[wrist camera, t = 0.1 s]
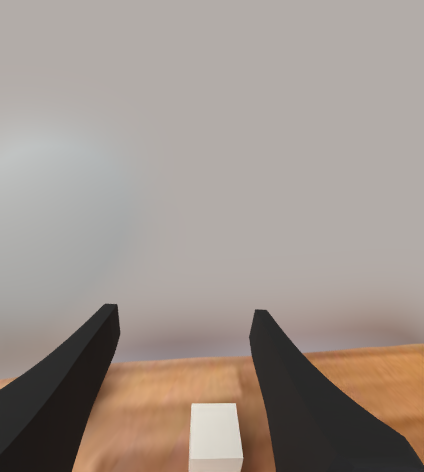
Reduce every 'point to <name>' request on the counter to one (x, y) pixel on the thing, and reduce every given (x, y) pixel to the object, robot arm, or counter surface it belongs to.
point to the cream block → (215, 438)
